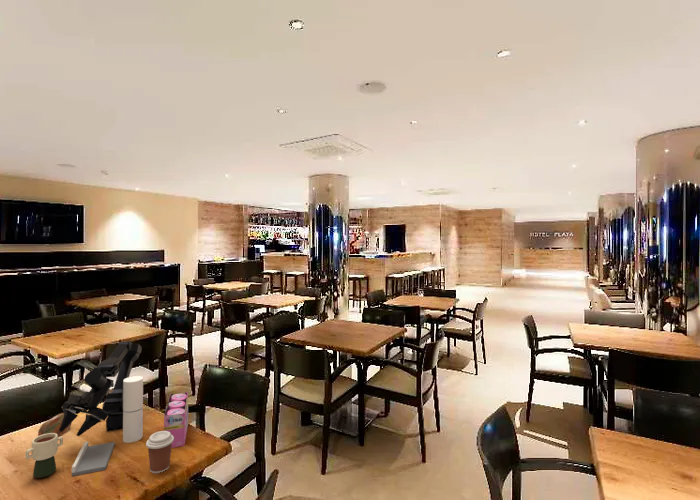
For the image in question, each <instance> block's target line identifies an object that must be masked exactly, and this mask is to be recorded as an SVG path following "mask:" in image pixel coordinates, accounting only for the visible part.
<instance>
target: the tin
mask: <svg viewBox="0 0 700 500" xmlns="http://www.w3.org/2000/svg"><path fill="white" fill-rule="evenodd" d="M63 418H64V412H61V413H58V414H56V415H55V416H53V417H51V418H50V419H48V420H47V421H44V422H43V423H42V425H41V426H40V427H39V429H38V432H37V437H38V436H40V435H43V434H47V433H56V434H57V435H58V437H62V435H64V434H66V433H67V432H68V431H69V430H70V428H71V426H72V424H73V421H72V422H71V423H70V424H69V425H68V426H67V427H66V428H65V429H64V430H63V431H62V432H60V431H59V429H60V426H61V424H62V421H63Z"/></svg>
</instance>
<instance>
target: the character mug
mask: <svg viewBox="0 0 700 500" xmlns="http://www.w3.org/2000/svg"><path fill="white" fill-rule="evenodd" d="M63 443H64V437H63V436H60V437H58V435H57V434H56V433H47V434H43V435H40V436H38V435H37V436H36V437H34V438H33V439H32V440H31V447H30V448H28V449H26V450H25V460H30V459H31V458H32V459H33V461H35V462H34V465H33V466H34V467H33V473H32V476H33V478H45V477H48V476H50V475H53V473H55V472H56V470H57V465H56V460H55V455H57V453H58V450H59V447H61V446H63ZM30 452H31V454H30Z"/></svg>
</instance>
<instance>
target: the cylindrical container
mask: <svg viewBox="0 0 700 500" xmlns="http://www.w3.org/2000/svg"><path fill="white" fill-rule="evenodd" d="M143 424H144V377H143V376H142V375H141V376H140V375H134V376H129V377H128V378H126V379H124V380H123V429H122V442H123V443H125V444H126V443H127V444H129V443H130V444H131V443H135V442H138V441H139V440H141V439H142V438H143V436H144V435H143V433H144V432H143V431H144V429H143V427H144V425H143Z"/></svg>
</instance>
